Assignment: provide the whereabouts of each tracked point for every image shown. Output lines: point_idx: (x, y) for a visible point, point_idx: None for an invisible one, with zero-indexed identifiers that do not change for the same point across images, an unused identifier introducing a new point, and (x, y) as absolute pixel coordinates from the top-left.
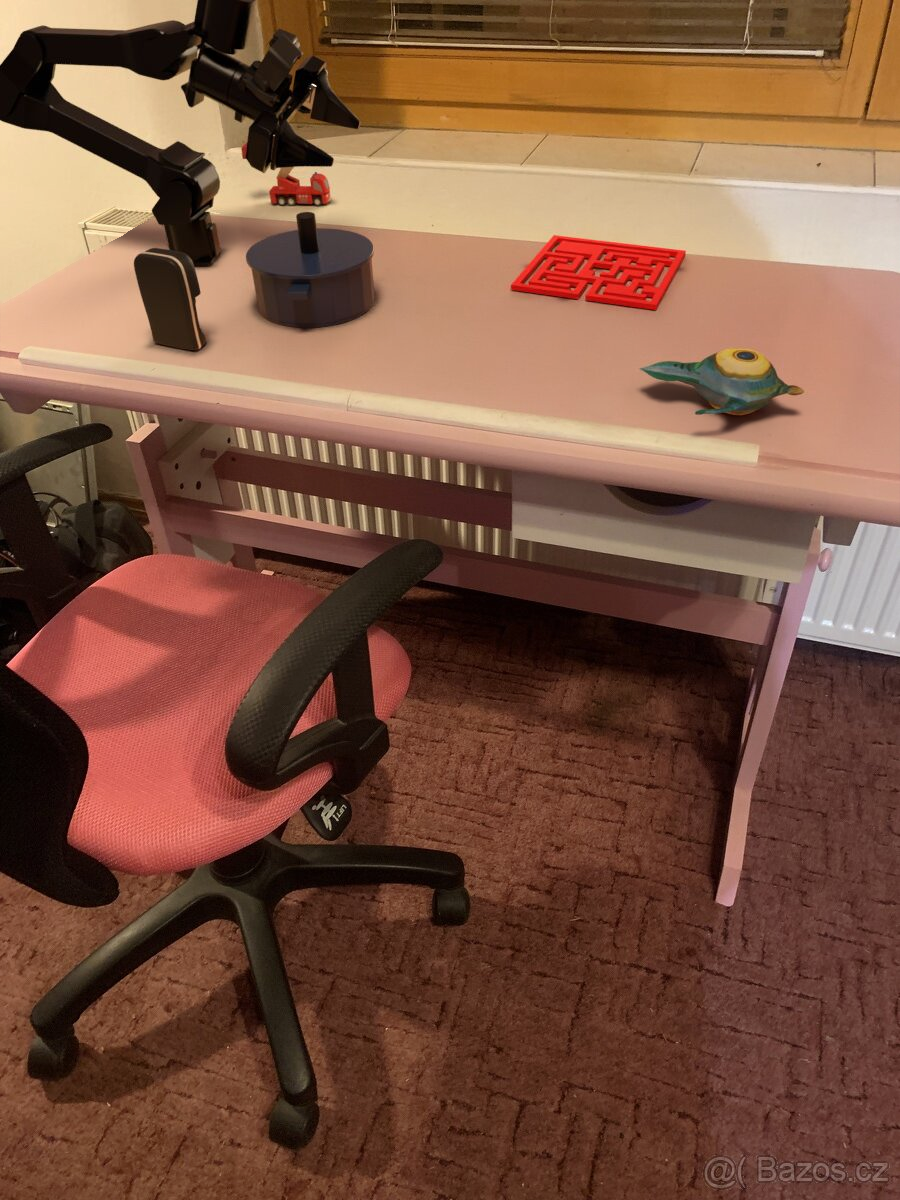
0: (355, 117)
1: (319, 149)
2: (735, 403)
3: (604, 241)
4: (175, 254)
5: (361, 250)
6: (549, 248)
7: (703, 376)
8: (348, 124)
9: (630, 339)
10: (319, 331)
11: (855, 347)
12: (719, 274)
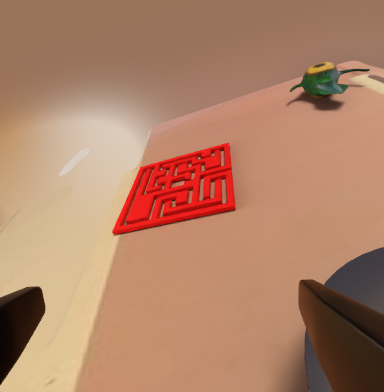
0: (14, 294)
1: (340, 305)
2: (345, 70)
3: (126, 200)
4: None
5: (381, 270)
6: (142, 221)
7: (334, 78)
8: (20, 338)
9: (276, 136)
10: None
11: (233, 103)
12: (166, 152)
